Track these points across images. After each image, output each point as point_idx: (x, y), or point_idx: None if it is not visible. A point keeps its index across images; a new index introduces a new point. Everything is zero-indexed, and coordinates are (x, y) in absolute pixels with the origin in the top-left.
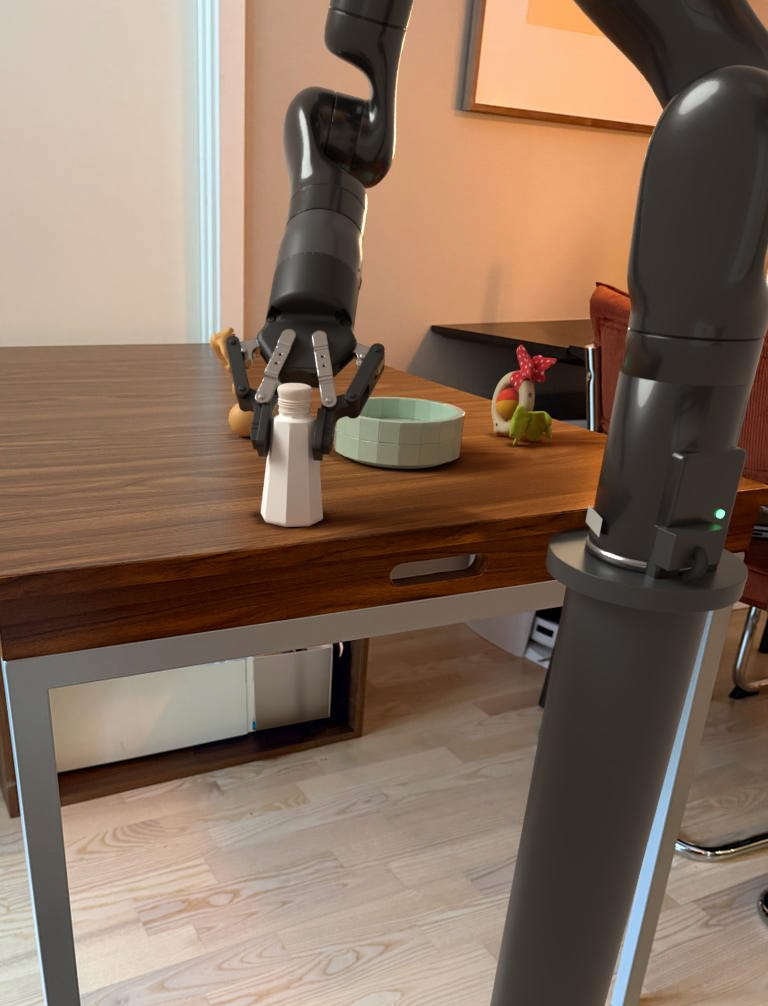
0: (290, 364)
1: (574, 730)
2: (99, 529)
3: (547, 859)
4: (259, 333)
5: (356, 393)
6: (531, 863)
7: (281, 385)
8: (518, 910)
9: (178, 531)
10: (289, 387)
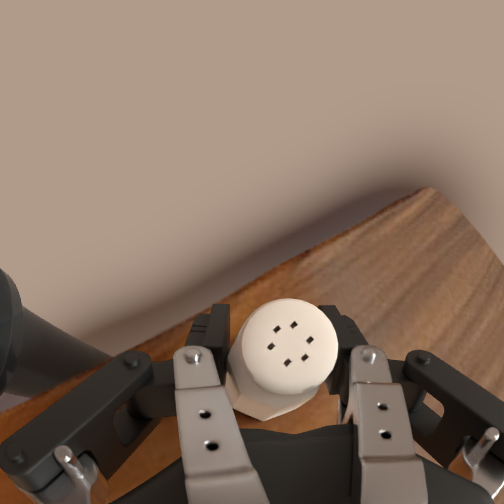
0: (336, 440)
1: (65, 336)
2: (439, 282)
3: (107, 357)
4: (492, 500)
5: (120, 365)
6: None
7: (327, 332)
8: None
9: (377, 296)
10: (299, 306)
